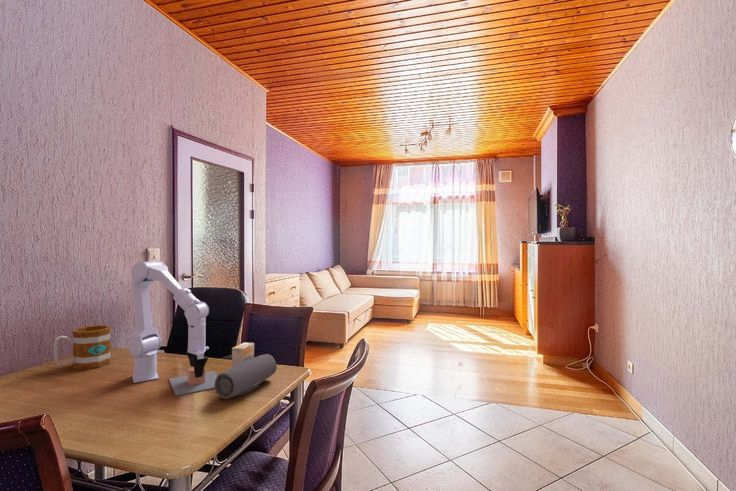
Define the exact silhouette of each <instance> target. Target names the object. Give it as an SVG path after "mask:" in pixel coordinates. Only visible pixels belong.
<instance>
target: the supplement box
mask: <svg viewBox="0 0 736 491" xmlns="http://www.w3.org/2000/svg"><path fill="white" fill-rule="evenodd" d="M252 358H255V343H254V342H242V343H240V344H238V345H236V346H233V347H232V348H231V368H232V367H234V366H236V365H238V364H240V363H242V362H245V361H247V360H249V359H252Z"/></svg>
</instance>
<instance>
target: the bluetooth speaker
mask: <svg viewBox="0 0 736 491" xmlns="http://www.w3.org/2000/svg"><path fill="white" fill-rule="evenodd" d="M277 367H278V366H277V362H276V359H275V358H274V356H272V355H271V354H269V353H266V354H264V353H263V354H261V355H258V356H254V358H252V359H249V360H247V361H245V362H242V363H240V364H238V365H236V366H234V367H232V366H231V367H230V368H228V369H226V370H224V371H222V372H221V373H219V374H217V375H218V376H217V378H216V380H215V384H214V385H215V389H214V390H215V392H216V394H217V395H218V396H219V397H220V398H222V399H226V400H227V399H231V398H234V397H236V396H239V397H241V396H243V395H246V394H247V393H250V392H251V391H254V390H256V388H258V387H259V386H260V384H261V383H263V382H264V381H266V380H268V378H270V377H272V376H273V375H274V374H275V373H276V371H277Z"/></svg>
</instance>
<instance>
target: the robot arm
mask: <svg viewBox="0 0 736 491" xmlns="http://www.w3.org/2000/svg"><path fill="white" fill-rule="evenodd" d="M130 271H131V283H130V285H131V295H132V304H133V312H134V313H133V314H134V315H133V316H134V322H135V324H134V325H135V330H134V332H133V333H132V334H131V335H130V336H129V337H130V342H129V344H128V345H129V346H128V350H129V353H130V354H131V355H132V357H133V358H134V362H133V364H134V365H133V366H134V367H133V369H134V370H133V374H132V382H133V383H134V384H135V383H140V382H147V381H152V380H158V379H159V378H160V377H159V374H158V372H157V369H158V368H157V367H158V366H157V364H158V363H157V358H158V357H157V356H158V352H159V349H160V348H161V347H162V343H163V342H162V339H161V337H160V333H159V330H158V329H157V328H155V327H154V326H153V315H152V308H151V307H152V306H151V297H150V287H149V286H150V285H151V284H152V283H153V282H154V281H159V283H161V284H162V285H163V286H164V287H165V288H166V289H167V290H169V292H170V293H171V294H173V298H172V299H173V300H174V301H175V302H176V304H178V306H180V308H181V309H182V310H183V311H184V316H185V318H186V321H187V324H188V326H187V327H188V328H187V330H188V331H187V333H188V334H187V335H188V337H187V340H188V341H187V351H186V352H185V354H186V355H187V358H188V360H189V367H194V373H195V377H196V378H198V377H202V375H203V371H204V368H205V367H206V364H207V361H208V360H209V356H205V352H206V351H208V350H209V349H210V347H209V346H206V341H207V340H206V338H207V337H206V330H207V329H206V326H207V322H206V320H207V318H206V317H207V316H209V313H210V308H209V305H208V304H207V303H206V302H205V301H201V300H199V298H197V297H196V296H195V295H194V294H193V293H192V290H191V289H189V288H185V287H184V288H183V287H181V285H180V284H179V283H178V282H177V280H176V279H175V278H174V277H173V276H172V274H171V272H170V271H169V267H168V266H167V265H166V264H165V263H164V262H163V261H162V260H151V261H150V260H149V261H137V262H136V263H134V265H133V266H132V267H131V270H130Z"/></svg>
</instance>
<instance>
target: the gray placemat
mask: <svg viewBox="0 0 736 491" xmlns="http://www.w3.org/2000/svg"><path fill="white" fill-rule="evenodd" d="M218 375H219V374H218V373H217V372H216V371H215V370H211V371H210V370H209V371H205V383H200V384H195V385H189V383H188V381H187V377H188V374H187V375H182V376H177V377H171V378H168V381H169V384H170V387H171V389H172V392H173V393H174V396H175V397H181V396H184V395H190V394H195V393H200V392H206V391H210V390H215V385H214V384H215V380H216V378H217V376H218Z"/></svg>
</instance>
